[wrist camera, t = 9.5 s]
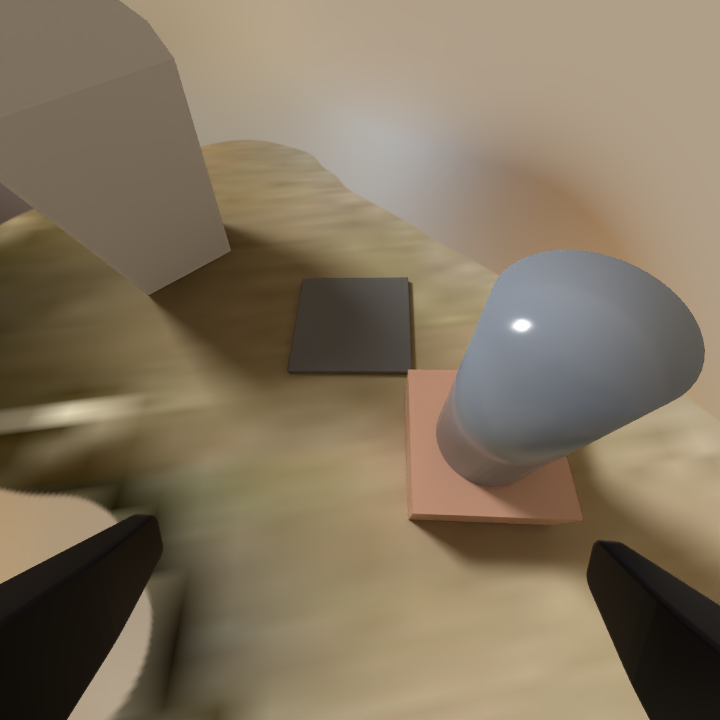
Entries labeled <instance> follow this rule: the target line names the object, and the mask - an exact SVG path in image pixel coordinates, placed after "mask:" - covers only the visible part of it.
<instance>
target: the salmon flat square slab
mask: <svg viewBox="0 0 720 720" xmlns="http://www.w3.org/2000/svg"><path fill="white" fill-rule="evenodd" d="M457 372H458V370H408V373H407V381H406V388H405V419H406V457H407V494H408V519H416V520H440V521H464V522H488V523H512V524H536V525H556V524H562V523H569V522H576V521H583V516H582V512H581V508H580V504H579V501H578V497H577V493H576V489H575V485H574V482H573V478H572V474H571V470H570V466H569V463H568V459H567V456H565V457H563V458H561V459H559V460H557V461H555V462H553V463H551V464H549V465H547V466H545V467H543V468H541V469H539V470H538V471H536V472H534V473H532V474H530V475H528V476H526V477H524V478H522V479H520V480H518V481H516V482H514V483H512V484H509V485H506V486H501V487H487V486H482V485H478V484H475V483H472V482H470V481H468V480H466V479H465V478H463V477H462V476H460V475H459V474H457V473H456V472H455V471H454V470H453V469H452V468H451V467H450V466H449V465H448V463H447V462H446V461H445V459H444V457H443V456H442V454H441V452H440V449H439V447H438V443H437V438H436V426H437V421H438V418H439V415H440V413H441V410H442V408H443V406H444V403H445V401H446V398H447V396H448V394H449V391H450V389H451V386H452V384H453V382H454V379H455V377H456V374H457Z"/></svg>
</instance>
